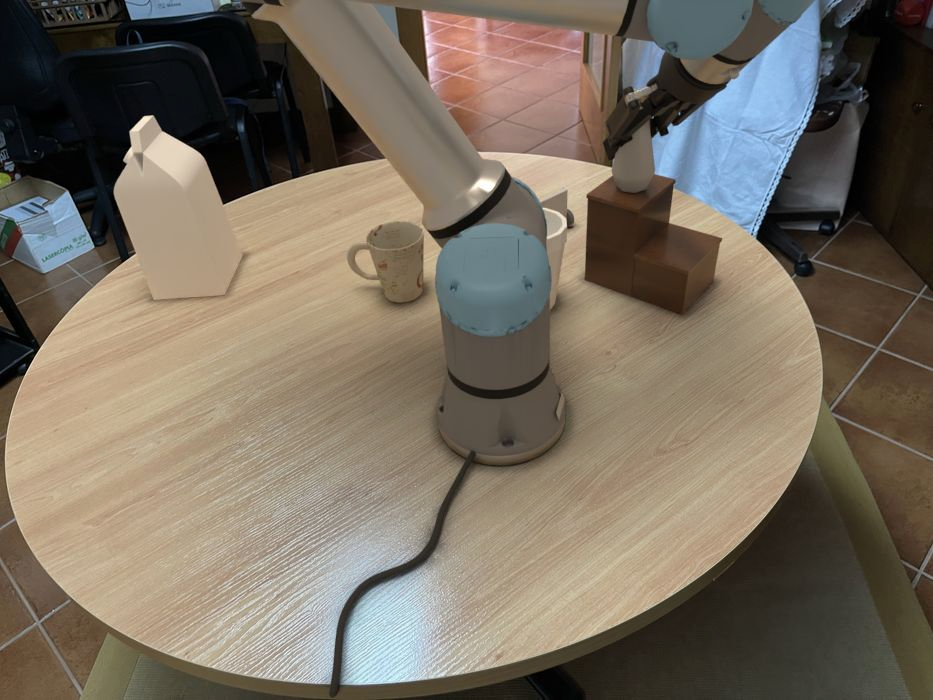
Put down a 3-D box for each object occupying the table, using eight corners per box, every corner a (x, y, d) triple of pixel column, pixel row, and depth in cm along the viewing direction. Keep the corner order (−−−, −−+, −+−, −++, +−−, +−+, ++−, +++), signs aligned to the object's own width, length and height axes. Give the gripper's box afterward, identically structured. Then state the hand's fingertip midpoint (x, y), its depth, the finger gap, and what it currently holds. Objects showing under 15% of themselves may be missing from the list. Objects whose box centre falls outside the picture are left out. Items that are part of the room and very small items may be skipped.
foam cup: (519, 278, 107) (516, 202, 98) (575, 291, 103) (577, 213, 95) (490, 312, 100) (485, 233, 92) (549, 327, 97) (549, 247, 88)
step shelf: (682, 315, 96) (695, 224, 87) (583, 280, 105) (586, 194, 96) (714, 281, 102) (730, 192, 93) (618, 250, 111) (624, 166, 102)
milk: (224, 295, 109) (167, 136, 93) (153, 299, 110) (84, 143, 94) (243, 255, 119) (193, 105, 102) (177, 259, 119) (118, 111, 103)
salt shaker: (629, 173, 100) (636, 82, 92) (661, 184, 96) (672, 90, 88) (602, 187, 97) (607, 94, 89) (634, 199, 94) (642, 104, 85)
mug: (423, 309, 102) (414, 250, 96) (343, 304, 105) (330, 247, 99) (436, 278, 109) (429, 221, 102) (360, 274, 111) (349, 219, 105)
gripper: (653, 101, 72) (576, 185, 95) (781, 73, 76) (677, 161, 98) (630, 36, 73) (559, 135, 96) (758, 11, 76) (660, 112, 99)
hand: (619, 148), depth 97 cm, fingers closed on salt shaker, 3 cm apart
